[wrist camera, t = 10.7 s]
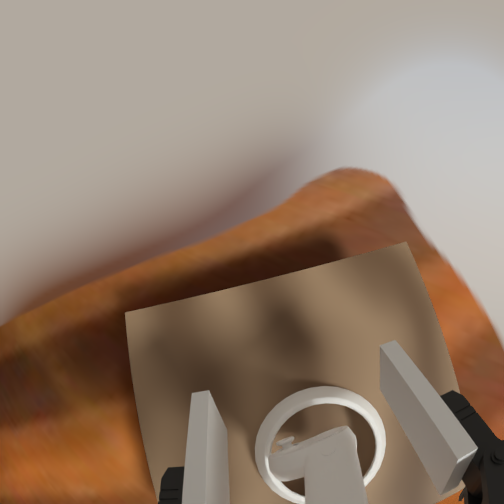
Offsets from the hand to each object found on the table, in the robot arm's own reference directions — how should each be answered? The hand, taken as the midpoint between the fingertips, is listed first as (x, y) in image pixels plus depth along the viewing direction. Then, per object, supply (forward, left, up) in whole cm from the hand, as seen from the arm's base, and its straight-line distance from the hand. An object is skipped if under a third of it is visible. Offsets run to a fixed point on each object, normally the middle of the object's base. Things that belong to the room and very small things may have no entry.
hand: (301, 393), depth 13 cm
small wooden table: (0, -1, -12) cm, 12 cm away
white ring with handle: (+1, -4, -5) cm, 6 cm away
